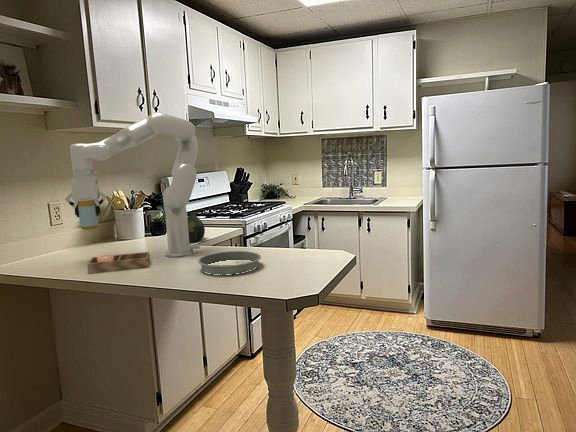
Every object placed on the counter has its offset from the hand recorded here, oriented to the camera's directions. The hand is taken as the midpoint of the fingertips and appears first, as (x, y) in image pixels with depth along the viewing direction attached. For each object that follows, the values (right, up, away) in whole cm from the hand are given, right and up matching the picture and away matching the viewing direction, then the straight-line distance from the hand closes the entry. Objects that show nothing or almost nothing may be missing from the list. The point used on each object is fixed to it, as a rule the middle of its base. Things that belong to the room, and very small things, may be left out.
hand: (88, 215), depth 186 cm
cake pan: (+61, -21, -11) cm, 66 cm away
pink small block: (+11, -21, -7) cm, 25 cm away
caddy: (+16, -22, -6) cm, 28 cm away
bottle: (0, -5, +1) cm, 6 cm away
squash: (+33, -13, +47) cm, 59 cm away
